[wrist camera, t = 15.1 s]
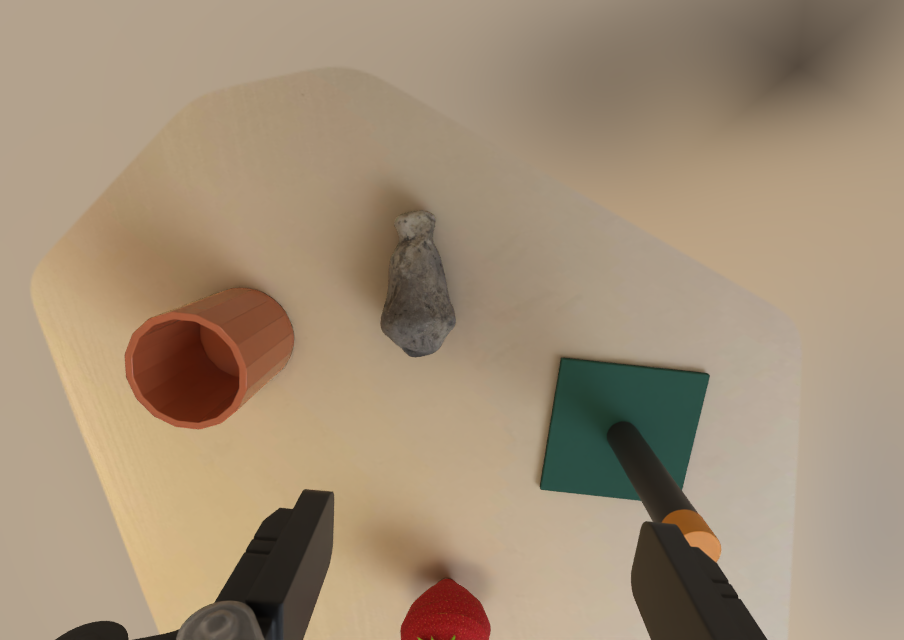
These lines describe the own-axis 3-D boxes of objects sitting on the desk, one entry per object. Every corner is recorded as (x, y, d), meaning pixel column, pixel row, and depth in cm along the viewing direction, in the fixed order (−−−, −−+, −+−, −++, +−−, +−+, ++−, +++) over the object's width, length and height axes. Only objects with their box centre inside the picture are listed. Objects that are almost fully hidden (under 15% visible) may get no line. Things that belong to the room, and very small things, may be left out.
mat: (560, 357, 40) (561, 359, 40) (707, 373, 40) (710, 375, 40) (539, 486, 43) (540, 490, 43) (676, 501, 43) (678, 505, 43)
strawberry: (493, 603, 47) (499, 710, 37) (415, 613, 47) (400, 721, 37) (482, 550, 45) (486, 646, 35) (401, 561, 46) (383, 659, 36)
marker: (609, 418, 41) (678, 528, 28) (641, 422, 41) (726, 533, 28) (603, 448, 42) (668, 569, 28) (635, 451, 42) (715, 574, 28)
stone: (400, 203, 39) (324, 259, 35) (447, 195, 35) (367, 258, 31) (452, 304, 43) (391, 364, 39) (499, 308, 39) (435, 375, 35)
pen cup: (197, 282, 40) (121, 306, 31) (295, 292, 40) (246, 319, 31) (199, 375, 42) (128, 421, 33) (292, 385, 42) (246, 435, 33)
